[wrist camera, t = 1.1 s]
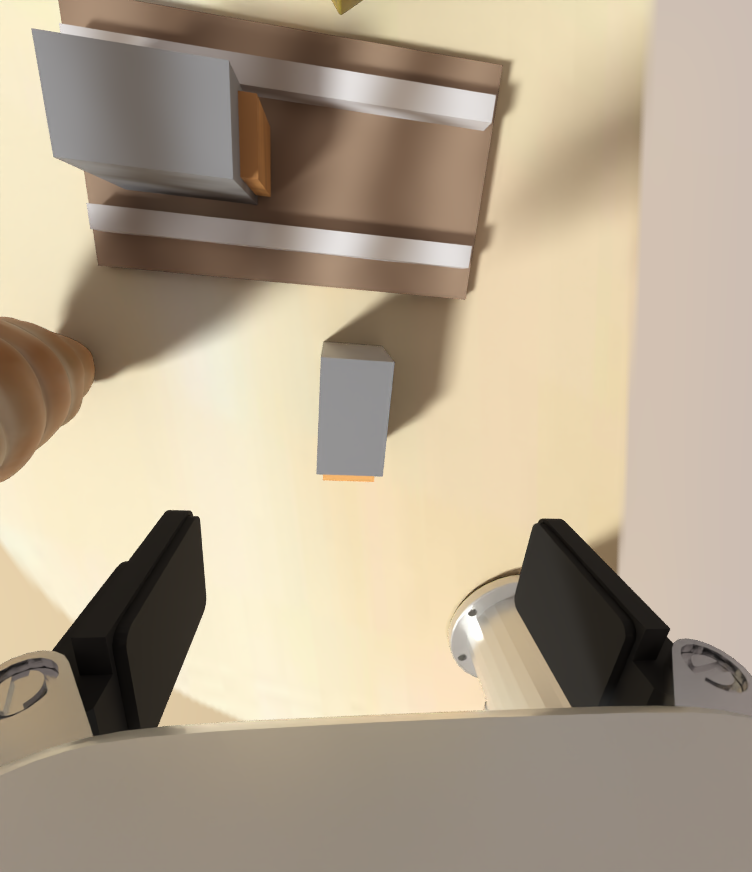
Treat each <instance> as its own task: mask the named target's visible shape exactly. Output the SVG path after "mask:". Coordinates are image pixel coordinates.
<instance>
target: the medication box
mask: <svg viewBox="0 0 752 872" xmlns="http://www.w3.org/2000/svg"><path fill="white" fill-rule="evenodd" d="M361 1H362V0H332V2H333V4H334V6H335V7H336V9H337V11H338V12H339V14H340V15H342V14H344V13H345V12H346V11H348V10H349V9H351V8H352V7H354V6H355V5H357V4H358V3H360V2H361Z"/></svg>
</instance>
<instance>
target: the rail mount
mask: <svg viewBox="0 0 752 872" xmlns="http://www.w3.org/2000/svg"><path fill="white" fill-rule="evenodd" d="M58 1H59V8H60V14H61V21H62V24H61V23H59V25H60V32H61V33H57V32H51V31H45V30H39V29H32V28H31V29H32V35H33V40H34V46H35V52H36V58H37V64H38V70H39V75H40V81H41V87H42V93H43V99H44V104H45V110H46V116H47V122H48V128H49V133H50V139H51V145H52V151H53V157H55V158H57V159H59V160H62V161H64V162H66V163H68V164H70V165H73V166H75V167H77V168H79V169H81V170H84V174H85V180H86V187H87V194H88V200H89V203H87V209H88V216H89V222H90V229H93V234H94V240H95V247H96V253H97V260H98V265H100V266H110V267H121V268H132V269H143V270H153V271H164V272H175V273H186V274H196V275H207V276H218V277H228V278H239V279H250V280H261V281H271V282H282V283H293V284H304V285H314V286H325V287H336V288H346V289H357V290H368V291H379V292H389V293H400V294H411V295H422V296H432V297H443V298H454V299H464V300H465V298H466V292H467V286H468V279H469V273H470V267H471V261H472V254H473V248H474V242H475V236H476V229H477V223H478V217H479V211H480V204H481V198H482V192H483V186H484V179H485V173H486V167H487V161H488V154H489V148H490V142H491V136H492V129H493V123H494V117H495V111H496V104H497V98H498V92H499V86H500V79H501V73H502V67H503V65H498V64H493V63H487V62H481V61H476V60H470V59H464V58H459V57H453V56H447V55H442V54H436V53H430V52H424V51H419V50H413V49H407V48H402V47H396V46H390V45H385V44H379V43H373V42H368V41H362V40H356V39H350V38H345V37H339V36H333V35H328V34H322V33H316V32H311V31H305V30H299V29H294V28H288V27H282V26H276V25H271V24H265V23H259V22H254V21H248V20H242V19H237V18H231V17H225V16H220V15H214V14H208V13H202V12H197V11H191V10H185V9H180V8H174V7H168V6H163V5H157V4H151V3H145V2H140V1H134V0H58Z"/></svg>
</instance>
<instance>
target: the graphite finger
mask: <svg viewBox="0 0 752 872" xmlns="http://www.w3.org/2000/svg"><path fill="white" fill-rule="evenodd" d="M394 364H395V362H394V361H393V360H392V358H391V357H390V356H389V354H388V353H387V352H386V350H385V349H384V348H383V347H382V346H375V345H361V344H348V343H335V342H323V348H322V354H321V370H320V396H319V423H318V449H317V474H322V475H323V480H333V481H365V482H374V476H383V468H384V459H385V449H386V440H387V430H388V421H389V411H390V402H391V392H392V383H393V373H394Z"/></svg>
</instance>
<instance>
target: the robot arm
mask: <svg viewBox="0 0 752 872" xmlns="http://www.w3.org/2000/svg"><path fill="white" fill-rule="evenodd" d="M205 605H206V588H205V576H204V563H203V551H202V538H201V526H200V519H199V517H198V516H193V514H192V512H191V511H182V510H167V511H166V512H165V513H164V514H163V516H162V517H161V518H160V520H159V521H158V522H157V524H156V525H155V526H154V528H153V529H152V530H151V532H150V533H149V534H148V536H147V537H146V538H145V540H144V541H143V542H142V544H141V545H140V546H139V548H138V549H137V550H136V552H135V553H134V554H133V556H132V557H131V558H130V559H129V561H125V562H123V563H121V564H120V565H119V566H118V567H117V568H116V569H115V570H114V572H113V573H112V574H111V575H110V577H109V578H108V579H107V581H106V582H105V583H104V584H103V586H102V587H101V588H100V590H99V591H98V592H97V593H96V595H95V596H94V597H93V599H92V600H91V601H90V602H89V604H88V605H87V606H86V608H85V609H84V610H83V611H82V613H81V614H80V615H79V617H78V618H77V619H76V620H75V622H74V623H73V624H72V626H71V627H70V628H69V629H68V631H67V632H66V633H65V635H64V636H63V637H62V639H61V640H60V641H59V642H58V644H57V645H56V646H55V648H54V649H53V650H52V651H37V652H31V653H26V654H24V655H21V656H18V657H15V658H12V659H10V660H8V661H6V662H4V663H2V664H1V665H0V872H752V676H751V675H750V673H749V672H748V671H747V670H746V669H745V668H744V667H743V666H742V665H741V664H740V663H738V662H737V661H736V660H735V659H734V658H732V657H731V656H729V655H728V654H726V653H725V652H723V651H721V650H719V649H717V648H715V647H713V646H711V645H709V644H707V643H704V642H701V641H698V640H693V639H679V640H677V641H676V642H674V643H672V642H671V641H670V640H669V639H668V638H667V635H668V632H669V631H670V628H669V627H668V626H667V625H666V624H665V623H664V622H663V621H662V620H661V619H660V618H659V617H658V616H657V615H656V614H655V613H654V612H653V611H652V610H651V609H650V608H649V607H648V606H647V604H646V603H644V601H643V600H641V598H640V597H639V596H638V595H637V594H636V593H635V592H633V590H632V589H631V588H630V587H629V586H628V585H627V584H626V583H625V582H624V581H623V580H622V579H621V578H620V577H619V576H618V575H617V574H616V573H615V572H614V571H613V570H612V569H611V568H610V567H609V566H608V565H607V564H606V563H605V562H604V561H603V560H602V559H601V558H600V557H599V556H598V555H597V554H596V553H595V552H594V551H593V550H592V548H591V547H590V546H589V545H588V544H587V543H586V542H585V541H584V540H583V539H582V538H581V537H580V536H579V535H578V534H577V533H576V532H575V531H574V530H573V529H572V528H571V527H570V526H569V525H568V524H567V523H566V522H565V521H564V520H562V519H540V520H539V522H538V523H536V524H534V525H533V528H532V531H531V535H530V539H529V542H528V546H527V550H526V554H525V558H524V561H523V565H522V569H521V573H520V575H513V576H508V577H504V578H501V579H497V580H495V581H493V582H490V583H488V584H486V585H484V586H483V587H481V588H479V589H478V590H476V591H475V592H473V593H472V594H471V595H470V596H469V597H468V598H466V599H465V600H464V601H463V603H462V604H461V605H460V606H459V607H458V609H457V610H456V612H455V614H454V615H453V617H452V619H451V622H450V626H449V630H448V641H449V647H450V649H451V652H452V655H453V658H454V660H455V661H456V663H457V664H458V666H459V667H461V668H462V669H463V670H464V671H465V672H467V673H468V674H470V675H472V676H474V677H477V678H478V679H479V682H480V684H481V687H482V690H483V692H484V695H485V699H486V700H487V701H486V702H485V705H484V709H483V711H459V712H434V713H410V714H386V715H362V716H341V717H320V718H299V719H277V720H256V721H238V722H223V723H207V724H192V725H176V726H163V727H158V724H159V722H160V719H161V717H162V714H163V712H164V709H165V707H166V704H167V702H168V700H169V697H170V695H171V692H172V690H173V687H174V685H175V682H176V680H177V677H178V675H179V672H180V670H181V667H182V665H183V662H184V660H185V657H186V655H187V652H188V650H189V647H190V645H191V642H192V640H193V637H194V635H195V632H196V630H197V628H198V625H199V623H200V620H201V618H202V615H203V613H204V610H205Z"/></svg>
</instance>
